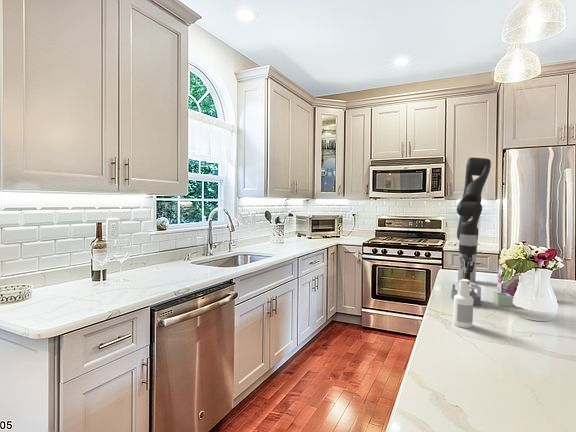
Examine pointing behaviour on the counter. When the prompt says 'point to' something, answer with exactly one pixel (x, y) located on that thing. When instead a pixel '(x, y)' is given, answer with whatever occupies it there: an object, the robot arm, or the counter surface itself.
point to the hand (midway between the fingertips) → (466, 279)
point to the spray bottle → (463, 306)
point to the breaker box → (474, 295)
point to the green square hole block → (502, 299)
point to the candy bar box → (507, 284)
